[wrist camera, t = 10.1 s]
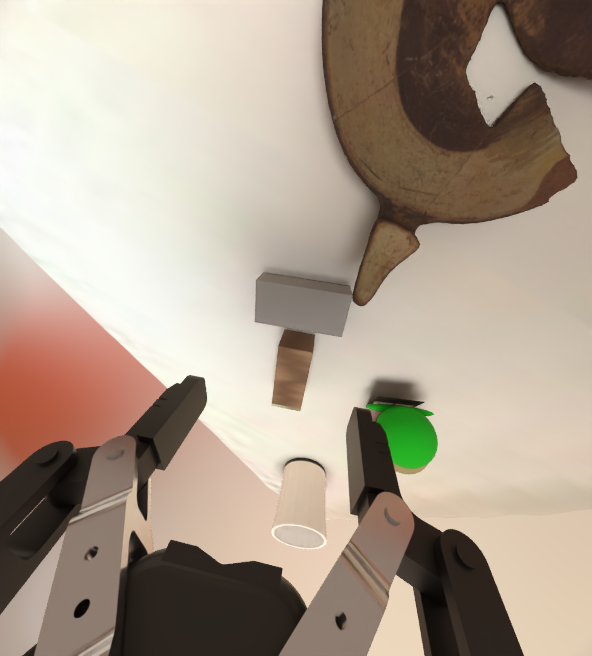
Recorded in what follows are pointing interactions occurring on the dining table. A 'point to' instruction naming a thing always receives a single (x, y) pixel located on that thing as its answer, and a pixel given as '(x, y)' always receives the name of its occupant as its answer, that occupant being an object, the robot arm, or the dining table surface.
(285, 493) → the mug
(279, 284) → the hammer head
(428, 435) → the toy
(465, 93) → the oil lamp
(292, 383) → the block
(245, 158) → the dining table surface
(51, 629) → the robot arm
